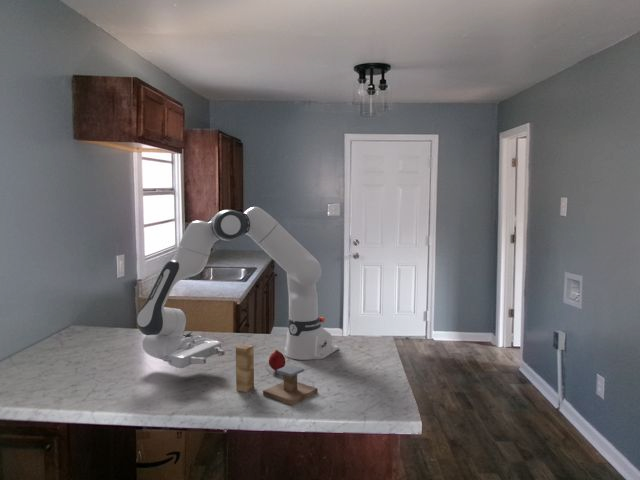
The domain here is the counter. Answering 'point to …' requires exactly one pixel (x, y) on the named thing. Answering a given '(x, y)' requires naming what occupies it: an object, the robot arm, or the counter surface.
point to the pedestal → (290, 387)
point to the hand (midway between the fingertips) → (214, 357)
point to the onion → (276, 360)
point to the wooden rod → (244, 367)
